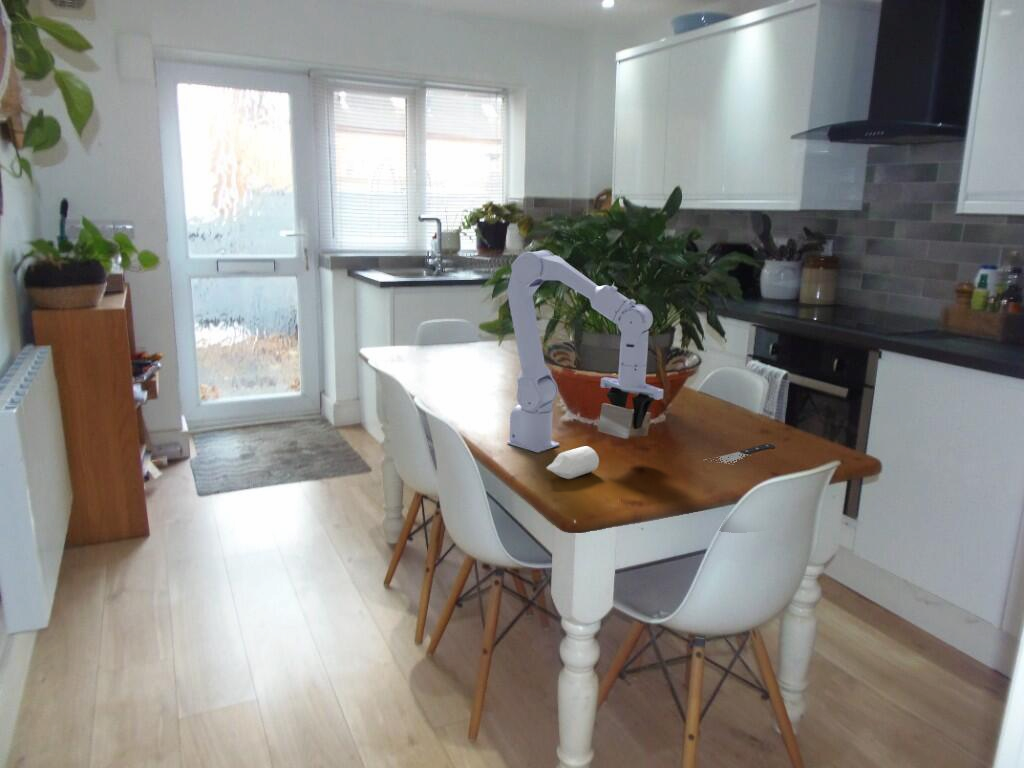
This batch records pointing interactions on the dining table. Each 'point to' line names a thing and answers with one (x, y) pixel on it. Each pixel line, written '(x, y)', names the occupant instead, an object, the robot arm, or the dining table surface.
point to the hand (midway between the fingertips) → (628, 425)
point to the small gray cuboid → (621, 422)
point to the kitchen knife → (736, 455)
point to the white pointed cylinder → (575, 462)
